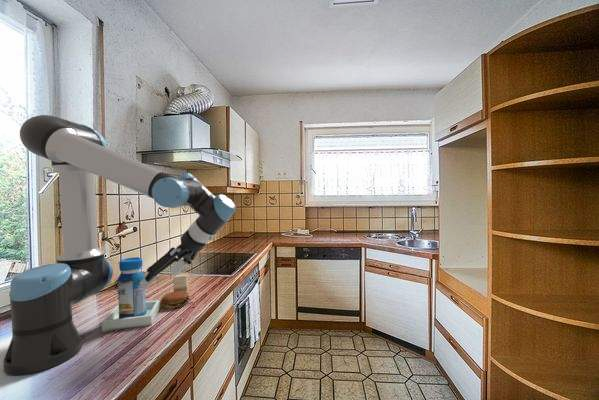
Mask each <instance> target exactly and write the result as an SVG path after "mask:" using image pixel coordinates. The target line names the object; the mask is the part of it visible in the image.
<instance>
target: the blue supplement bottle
mask: <svg viewBox="0 0 599 400" xmlns="http://www.w3.org/2000/svg"><path fill="white" fill-rule="evenodd" d="M118 264H119V265H118V266H119V268H118V269H119V272H121V273H120V274H119V276H118V277H117V281H116V283H117V285H118V286H117V288H116V291H117V299H118V305H119V319H121V318H129V317H137V316H145V315H146V314H147V310H146V302H147V299H146V297H147V295H146V291H147V289H145V290H144V288H143V287H142V286H141V285H140V282H141V281H142V280H143V278H144V277H145V276H146V274H145V272H144V271H143V270H142V268H143V258H142V257H139V256H138V257H137V256H136V257H128V258H123V259H121V260H119V262H118Z"/></svg>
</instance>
